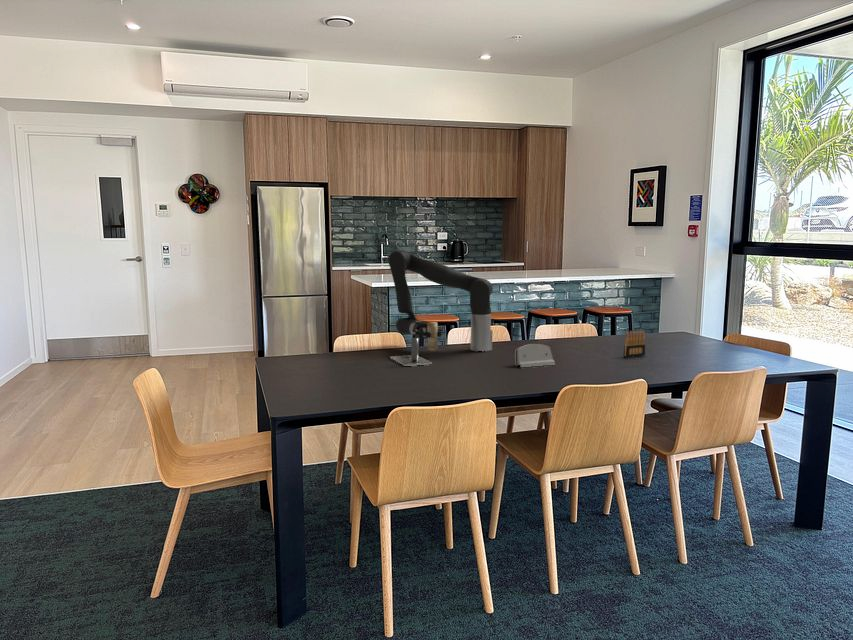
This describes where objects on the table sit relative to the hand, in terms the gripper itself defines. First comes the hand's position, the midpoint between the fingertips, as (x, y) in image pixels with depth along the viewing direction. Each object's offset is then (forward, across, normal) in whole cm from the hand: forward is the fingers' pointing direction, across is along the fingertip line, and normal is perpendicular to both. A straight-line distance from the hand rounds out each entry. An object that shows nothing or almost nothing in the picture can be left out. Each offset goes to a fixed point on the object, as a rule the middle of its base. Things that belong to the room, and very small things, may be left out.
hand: (435, 334), depth 271 cm
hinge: (+28, +33, +12) cm, 44 cm away
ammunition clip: (+29, +85, +12) cm, 90 cm away
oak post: (-3, 0, +7) cm, 8 cm away
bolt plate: (+2, -12, +10) cm, 16 cm away
